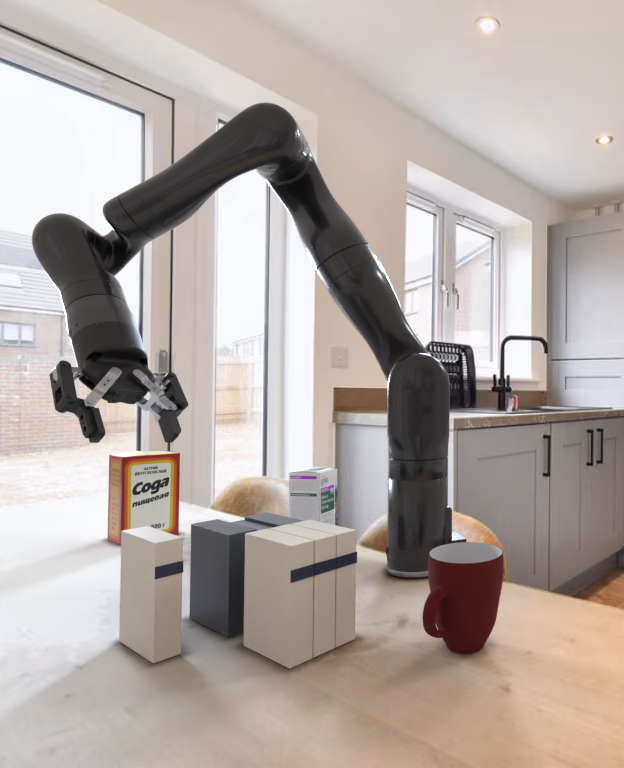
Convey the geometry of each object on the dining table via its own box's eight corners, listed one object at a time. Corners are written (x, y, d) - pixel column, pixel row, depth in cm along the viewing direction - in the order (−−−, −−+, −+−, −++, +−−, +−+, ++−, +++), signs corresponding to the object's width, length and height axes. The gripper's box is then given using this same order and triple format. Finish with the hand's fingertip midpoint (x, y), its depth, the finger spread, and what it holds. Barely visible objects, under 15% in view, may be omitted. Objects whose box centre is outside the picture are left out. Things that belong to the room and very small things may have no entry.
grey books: (266, 593, 73) (267, 509, 73) (306, 609, 68) (307, 518, 68) (189, 618, 65) (190, 523, 65) (228, 637, 60) (229, 535, 60)
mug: (470, 683, 50) (470, 575, 51) (398, 665, 54) (399, 564, 54) (514, 637, 60) (515, 546, 60) (451, 624, 63) (452, 538, 64)
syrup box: (319, 562, 87) (321, 471, 87) (287, 559, 88) (288, 470, 88) (338, 552, 92) (339, 467, 93) (307, 549, 94) (308, 466, 94)
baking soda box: (164, 529, 108) (165, 448, 108) (178, 534, 104) (180, 451, 104) (107, 539, 100) (109, 452, 100) (120, 545, 96) (122, 455, 97)
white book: (146, 632, 61) (148, 525, 61) (182, 653, 56) (183, 537, 56) (118, 641, 59) (120, 530, 59) (153, 664, 54) (155, 543, 54)
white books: (309, 620, 64) (310, 519, 65) (356, 639, 59) (357, 529, 60) (243, 645, 58) (244, 533, 58) (289, 669, 53) (291, 546, 53)
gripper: (54, 308, 64) (85, 420, 59) (175, 329, 77) (210, 423, 71) (26, 346, 67) (53, 457, 61) (147, 361, 79) (179, 454, 74)
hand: (137, 439), depth 66 cm, fingers open, 8 cm apart
